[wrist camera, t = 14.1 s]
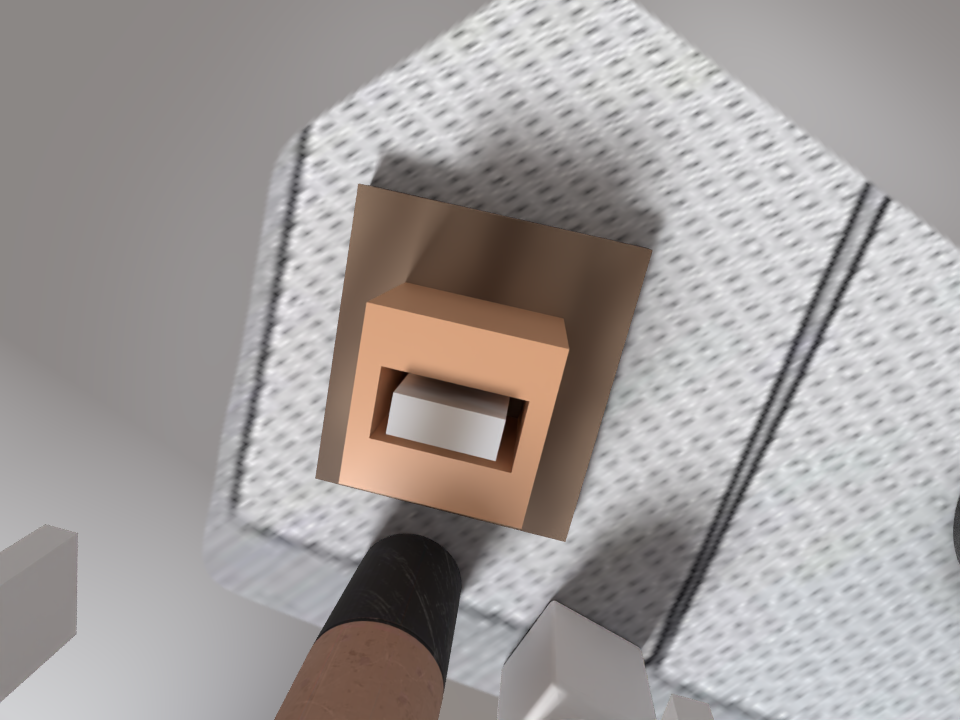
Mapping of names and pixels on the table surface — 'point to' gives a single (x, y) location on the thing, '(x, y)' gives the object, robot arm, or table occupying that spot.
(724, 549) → the table surface
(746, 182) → the table surface
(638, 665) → the medicine bottle
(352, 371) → the stand
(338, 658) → the travel mug
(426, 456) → the tan cube with window
